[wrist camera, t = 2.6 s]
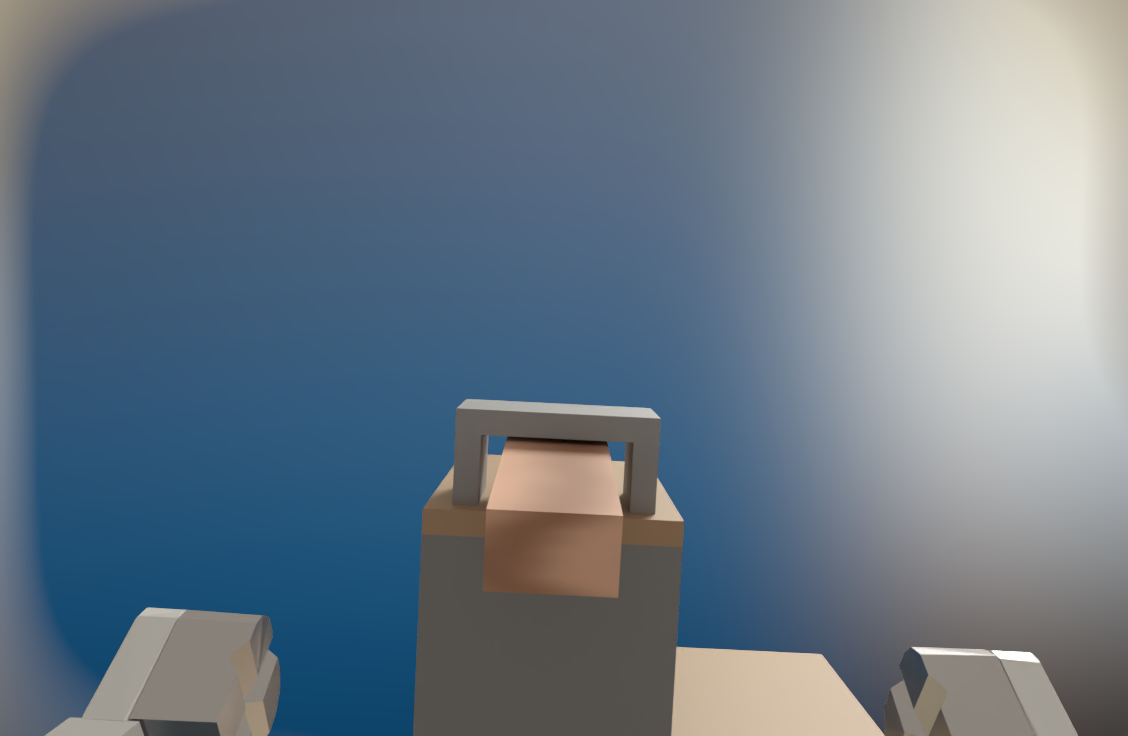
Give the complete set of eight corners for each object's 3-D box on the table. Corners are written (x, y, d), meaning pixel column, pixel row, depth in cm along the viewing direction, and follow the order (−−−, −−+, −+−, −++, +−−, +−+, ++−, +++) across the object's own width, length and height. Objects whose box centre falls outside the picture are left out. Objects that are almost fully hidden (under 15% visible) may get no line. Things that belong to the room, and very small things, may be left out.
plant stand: (395, 1153, 36) (427, 409, 34) (441, 920, 50) (465, 382, 48) (895, 1176, 36) (951, 435, 35) (802, 937, 50) (838, 401, 49)
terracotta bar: (482, 591, 27) (486, 509, 26) (507, 485, 39) (510, 427, 38) (618, 597, 27) (622, 515, 26) (601, 489, 39) (604, 432, 38)
